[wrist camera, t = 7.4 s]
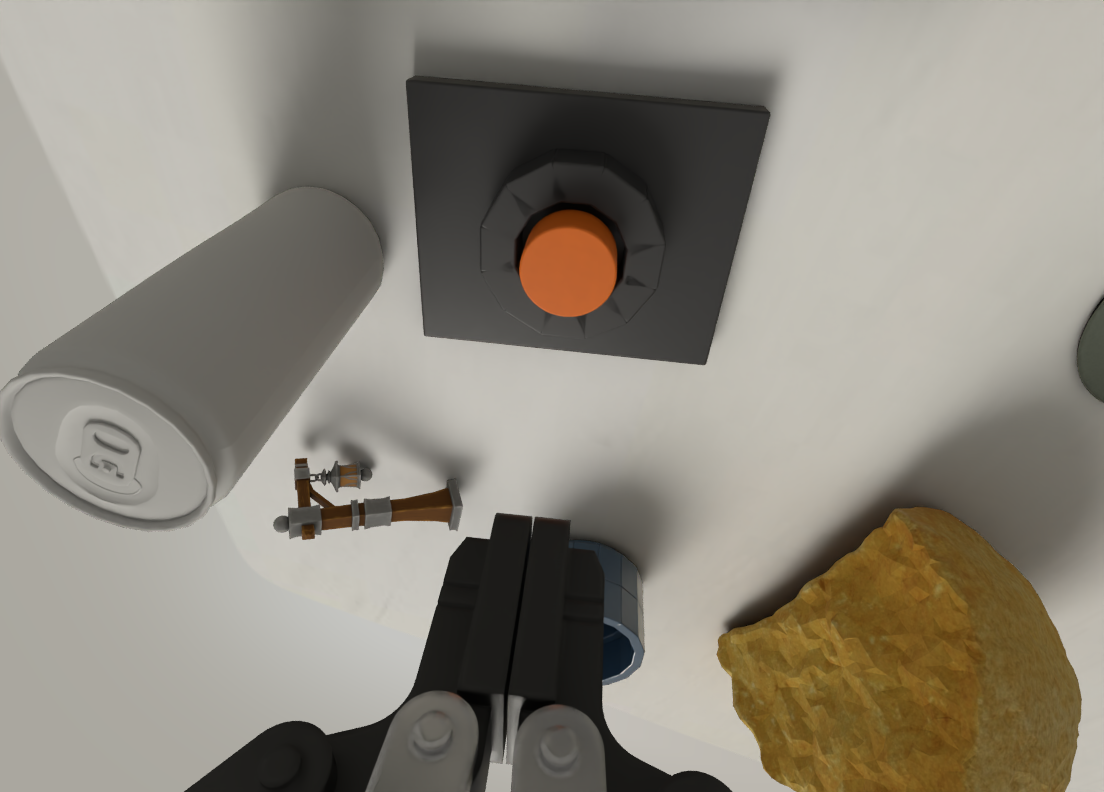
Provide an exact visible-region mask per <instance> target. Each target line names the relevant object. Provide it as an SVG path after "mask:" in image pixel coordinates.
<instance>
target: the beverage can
mask: <svg viewBox="0 0 1104 792" xmlns="http://www.w3.org/2000/svg"><path fill="white" fill-rule="evenodd" d="M383 271H384V266H383V253H382V249H381V245H380V242H379V238H378V235H377V233H376V232H375V230H374V228H373V226H372V224H371V222H370V221H369V220H368V218H367V217H366V216H365V215H364V214H363V213H362V212H361V211H360V210H359V208H358V207H356V206H355V205H354V204H352V203H351V202H349V201H348V200H347V199H345V198H344V197H342V196H341V195H338V194H336V193H333V192H331V191H329V190H326V189H322V188H316V187H309V186H306V187H298V188H291V189H289V190H286V191H284V192H282V193H280V194H277V195H276V196H274V197H273V198H271V199H270V200H268V201H267V202H265V203H264V204H262V205H261V206H259V207H258V208H256V209H255V210H253V211H252V212H250V213H249V214H247V215H246V216H244V217H243V218H241V219H240V220H238V221H236V222H235V223H233V224H232V225H230V226H228V227H227V228H225V229H224V230H222V231H220V232H219V233H217V234H216V235H214V236H212V237H211V238H209V239H208V240H206V241H204V242H203V243H201V244H200V245H198V246H196V247H195V248H193V249H192V250H190V251H189V252H187V253H185V254H184V255H182V256H181V257H179V258H178V259H176V260H175V261H173V262H172V263H170V264H169V265H167V266H166V267H164V268H163V269H161V270H160V271H158V272H156V273H155V274H153V275H152V276H150V277H149V278H147V279H146V280H144V281H143V282H141V283H140V284H139V285H137V286H136V287H134V288H133V289H131V290H130V291H128V292H127V293H125V294H124V295H122V296H121V297H119V298H118V299H116V300H115V301H113V302H112V303H110V304H109V305H107V306H106V307H104V308H103V309H101V310H100V311H99V312H97V313H95V314H94V315H92V316H91V317H89V318H88V319H87V320H85V321H84V322H82V323H81V324H79V325H78V326H76V327H75V328H73V329H72V330H70V331H69V332H67V333H66V334H64V335H63V336H61V337H60V338H58V339H57V340H55V341H54V342H52V343H51V344H49V345H48V346H46V347H45V348H43V349H42V350H40V351H39V352H38V353H36V354H35V355H34V356H33V357H32V358H31V359H30V360H29V361H28V362H27V363H26V364H25V366H24V367H23V368H22V369H21V370H20V371H19V374H18V376H17V377H15V378H13V379H11V380H10V381H9V382H8V383H7V385H6V386H5V387H4V388H3V389H2V390H1V391H0V439H1V441H2V442H3V445H4V446H5V448H6V450H7V452H8V454H9V455H10V456H11V457H12V458H13V460H14V461H15V462H16V463H17V464H18V465H19V467H20V468H21V469H22V470H23V471H24V472H25V473H26V474H27V475H28V476H29V477H30V478H31V479H33V480H34V481H35V482H36V483H37V484H38V485H40V486H41V487H42V488H43V489H44V490H45V491H47V492H48V493H50V494H51V495H53V496H55V497H56V498H58V499H59V500H61V501H62V502H64V503H66V504H67V505H69V506H71V507H72V508H75V509H76V510H79V511H81V512H83V513H85V514H87V515H89V516H91V517H93V518H95V519H98V520H101V521H104V522H107V523H111V524H114V525H117V526H120V527H123V528H129V529H135V530H141V531H147V532H150V531H151V532H152V531H173V530H177V529H181V528H184V527H188V526H190V525H192V524H193V523H195V522H196V521H198V520H199V519H201V518H202V517H204V516H205V515H206V513H207V512H208V510H209V509H210V507H211V506H213V505H214V504H216V503H217V502H219V501H220V500H222V499H223V498H225V497H226V496H227V495H228V494H229V492H230V491H231V490H232V488H233V487H234V486H235V484H236V483H237V482H238V480H239V479H240V478H241V476H242V475H243V473H244V472H245V471H246V469H247V468H248V467H249V465H250V464H251V463H252V461H253V460H254V458H255V457H256V456H257V454H258V453H259V452H260V450H261V449H262V448H263V446H264V445H265V443H266V442H267V441H268V439H269V438H270V437H271V435H272V434H273V433H274V431H275V430H276V429H277V427H278V426H279V424H280V423H281V422H282V420H283V419H284V418H285V416H286V415H287V414H288V412H289V411H290V409H291V408H292V407H293V405H294V404H295V403H296V401H297V400H298V399H299V397H300V396H301V394H302V393H303V392H304V390H305V389H306V388H307V386H308V385H309V384H310V382H311V381H312V379H313V378H314V377H315V375H316V374H317V373H318V371H319V370H320V369H321V367H322V366H323V365H324V363H325V362H326V360H327V359H328V358H329V356H330V355H331V354H332V352H333V351H334V350H335V348H336V347H337V345H338V344H339V343H340V341H341V340H342V339H343V337H344V336H345V335H346V333H347V332H348V330H349V329H350V328H351V326H352V325H353V324H354V322H355V321H356V320H357V318H358V317H359V316H360V314H361V313H362V311H363V310H364V309H365V307H366V306H367V305H368V303H369V302H370V301H371V299H372V298H373V296H374V295H375V293H376V292H377V290H378V289H379V287H380V285H381V282H382V276H383Z"/></svg>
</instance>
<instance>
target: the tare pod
mask: <svg viewBox="0 0 1104 792" xmlns="http://www.w3.org/2000/svg"><path fill="white" fill-rule="evenodd" d="M406 90H407V104H408V118H409V132H410V146H411V160H412V174H413V188H414V202H415V216H416V230H417V245H418V259H419V273H420V287H421V301H422V315H423V329H424V335H425V336H430V337H439V338H449V339H458V340H468V341H478V342H487V343H497V344H506V345H516V346H525V347H535V348H545V349H554V350H564V351H573V352H583V353H592V354H602V355H611V356H621V357H631V358H640V359H650V360H659V361H669V362H678V363H688V364H698V365H705V364H706V363H707V359H708V355H709V351H710V347H711V343H712V339H713V335H714V332H715V328H716V324H717V320H718V316H719V312H720V308H721V304H722V301H723V297H724V293H725V289H726V285H727V281H728V277H729V274H730V270H731V266H732V262H733V258H734V254H735V250H736V246H737V243H738V239H739V235H740V231H741V227H742V223H743V219H744V215H745V212H746V208H747V204H748V200H749V196H750V192H751V188H752V184H753V181H754V177H755V173H756V169H757V165H758V161H759V157H760V153H761V150H762V146H763V142H764V138H765V134H766V130H767V126H768V122H769V119H770V112H769V111H768V110H767V109H766V108H765V107H764V106H754V105H743V104H731V103H720V102H709V101H697V100H686V99H674V98H663V97H652V96H640V95H629V94H618V93H606V92H595V91H584V90H572V89H561V88H550V87H538V86H527V85H516V84H504V83H493V82H482V81H470V80H459V79H448V78H436V77H425V76H413V77H411V78H410V79H408V80H407V81H406ZM568 209H570V210H580V211H584V212H587V213H589V214H592V215H594V216H595V217H597V218H598V219H600V220H601V221H602V222H603V223H604V224H605V225H606V226H607V227H608V228H609V230H610V231H611V233H612V235H613V237H614V239H615V242H616V247H617V279H616V283H615V286H614V289H613V291H612V293H611V295H610V296H609V298H608V299H607V300H606V301H605V302H604V303H603V304H602V305H601V306H600V307H598V308H597V309H595V310H594V311H592V312H590V313H587V314H584V315H581V316H575V317H563V316H558V315H554V314H551V313H549V312H546V311H544V310H543V309H541V308H540V307H538V306H537V305H536V304H535V303H534V302H533V301H532V300H531V299H530V298H529V297H528V295H527V294H526V292H525V291H524V288H523V286H522V284H521V280H520V275H519V265H520V260H521V256H522V253H523V250H524V247H525V244H526V241H527V238H528V236H529V234H530V232H531V230H532V229H533V227H534V226H535V225H536V224H537V223H538V222H539V221H540V220H541V219H542V218H544V217H545V216H547V215H549V214H551V213H554V212H556V211H560V210H568Z"/></svg>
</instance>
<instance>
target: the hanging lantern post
mask: <svg viewBox="0 0 1104 792" xmlns="http://www.w3.org/2000/svg"><path fill="white" fill-rule="evenodd" d="M294 472H295V490H297V494H298V508H288V517H287V516H279V517H278V518H276V519H275V521H274V524H273V526H274V529H275V530H276V531H278V532H281V533H283V532H286V531H288V530H289V538H290V539H291V538H294V537H299V536H302V540H306V539H315V534H316V535H321V530H329V529H337V528H346V527H352V531H353V530H358V529H359V526H364V528H365V529H367V528H370V527H376V526H383V525H385V526H390V525H391V522H397V521H439V522H448V525H449V529H450V530H456V531H458V526H459V522H460V517H461V513H462V508H463V505H462V501H461V497H460V493H459V490H458V486H457V482H456V478H455V479H453V480H448V482H447V487H446V488H445V489H442V490H439V491H436V492H433V493H428V494H423V495H419V496H414V497H410V498H405V499H396V500H390V496H389V497H386V498H381V499H364V503H358V500H354V501H353V500H351V504H350V505H343V506H334V505H333V504H332V503H330V502H329V501H328V500H326V499H325V498H324V497H322V496H321V495H320V494H318V493H317V492H316V491H314V490H313V488H312V486H311V484H310V482H315V481H322V483H323V484H324V486H325V485H326V480H327V481H328V483H330V482H331V483H332V484H333V486H334V488H335V490H336V492H338V488H340V487H357V488H359V489H360V484H361V480H362V481H368V480H370V479H371V478H372V471H371V470H370V469H367V468H364V469H362V470H360V461H359V462H358V463H355V464H350V465H342V466H341V465H338V461H335V464H334V467H333V469H332V470H331V472H330V471H329V470H328V473H327V474H326V471H325V469H324V470H323V472H322V473H319V474H317V475H316V474H310V472H309V468H308V464H307V458H301V459H295V469H294ZM319 475H321V479H319ZM310 476H315V480H310ZM310 497H311V498H312V499H313V500H315V501H316V502H317V503H319V505H316V506H311V503H310ZM320 505H321V506H323V507H324V508H322V509H320Z"/></svg>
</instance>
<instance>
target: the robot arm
mask: <svg viewBox="0 0 1104 792" xmlns="http://www.w3.org/2000/svg"><path fill="white" fill-rule="evenodd" d="M570 522H571V520H562V519H553V518H543V517H535V520H534V526H533V532H532V516H523V515H513V514H504V513H496V515H495V519H494V523H493V527H492V532H491V536H490V539H481V538H472V537H466V538H465V540H464V541H463V542H462V543H461V545H460V546H459V547H458V548H457V549H456V551H455V552H454V553H453V554H452V556H451V557H450V560H449V563H448V567H447V571H446V574H445V578H444V582H443V586H442V588H441V592H440V595H439V599H438V605H437V606H436V610H435V613H434V617H433V620H432V624H431V627H430V631H429V634H428V638H427V642H426V645H425V649H424V652H423V656H422V660H421V663H420V667H419V671H418V674H417V677H416V680H415V683H414V686H413V688H412V690H411V692H410V694H409V695H408V697H407V698H406V700H405V701H404V702H403V704H401V705H400V707H399V708H398V709H397V710H395V711H394V712H393V713H392V714H390V715H389V716H387V717H386V718H384V719H383V720H381V721H378V722H376V723H374V724H371V725H368V726H364V727H361V728H355V729H352V730H347V731H342V732H338V733H334V734H330V735H325V733H324V732H323V731H322V730H321V729H320V728H318V727H317V726H315V725H313V724H311V723H308V722H302V721H290V722H284V723H281V724H278V725H275V726H273V727H271V728H269V729H267V730H266V731H264V732H263V733H261V734H260V735H258V736H257V737H256V738H255V739H253V740H252V741H250V742H249V743H248V744H246V745H245V746H244V747H242V748H241V749H240V750H238V751H237V752H236V753H234V754H233V755H232V756H231V757H229V758H228V759H227V760H225V761H224V762H223V763H221V764H220V765H219V766H217V767H216V768H215V769H213V770H212V771H211V772H209V773H208V774H207V775H206V776H204V777H203V778H201V779H200V780H199V781H198V782H196V783H195V784H194V785H192V786H191V787H190V788H188V789H187V790H186V791H184V792H485V789H486V782H487V776H488V769H489V764H490V762H492V763H500V764H502V763H503V756H504V749H505V742H506V735H507V756H506V764H511V765H513V768H512V784H511V792H732V791H731V790H730V789H729V788H728V787H727V786H726V785H725V784H724V783H722V782H721V781H720V780H718V779H716V778H715V777H713V776H711V775H708V774H706V773H702V772H699V771H684V772H680V773H677V774H674V775H673V776H671V775H669V774H667V773H665V772H663V771H661V770H659V769H657V768H655V767H653V766H651V765H649V764H647V763H645V762H643V761H641V760H639V759H638V758H636V757H634V756H633V755H631V754H630V753H628V752H627V751H626V750H625V749H623V747H621V745H620V744H619V743H618V742H617V741H616V740H615V738H614V737H613V735H612V734H611V732H610V730H609V728H608V726H607V724H606V721H605V719H604V714H603V709H602V683H603V634H604V625H603V622H604V586H605V573H604V571H603V569H602V566H601V564H600V562H599V559H598V557H597V555H596V553H595V551H594V550H585V549H575V548H568V547H569V535H570ZM531 536H532V539H531Z"/></svg>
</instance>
